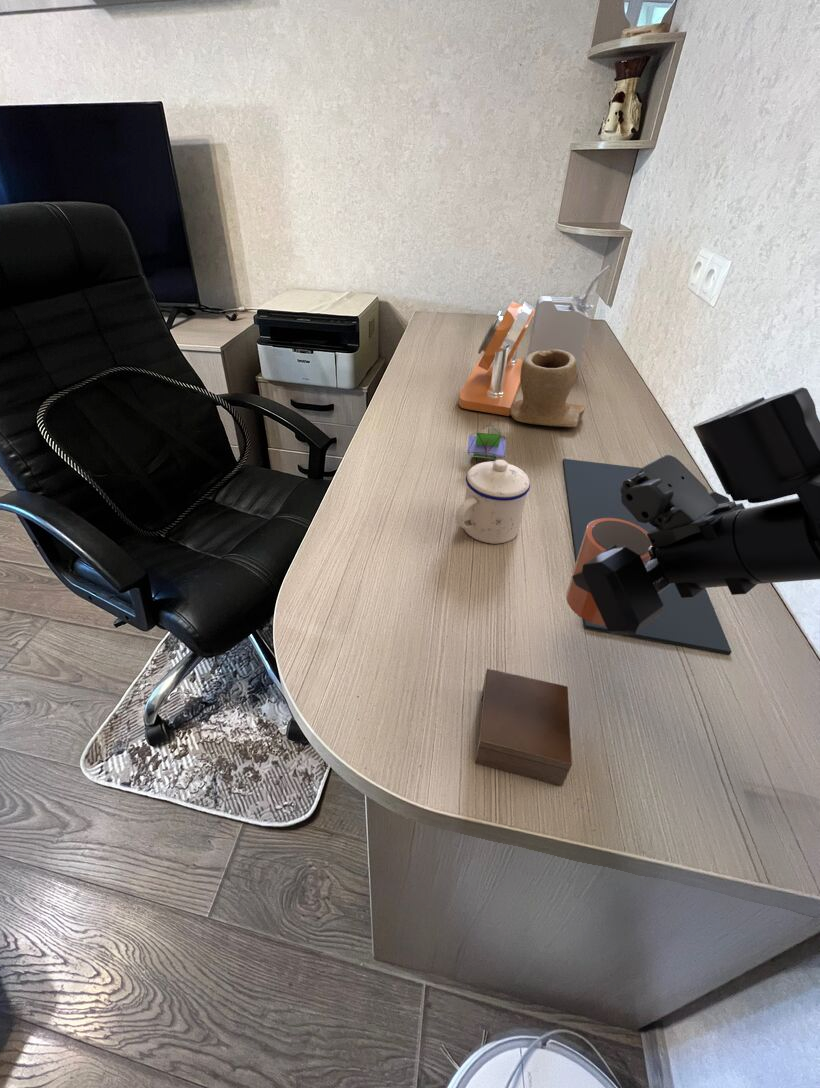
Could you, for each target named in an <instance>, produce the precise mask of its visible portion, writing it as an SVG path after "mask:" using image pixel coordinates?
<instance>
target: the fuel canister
mask: <svg viewBox="0 0 820 1088" xmlns="http://www.w3.org/2000/svg"><path fill="white" fill-rule="evenodd" d="M610 270H612V267H611V266H610V265H607V266H606V267H604V268H603V269H602V270H601V271H600V272H599V273H597V274H596V275H595V276H594V278H593V279H592V280H591V281H590V283H589V286H588V287H587V289H586V290H585V293H582V294H580V295H577V296H576V295H573V296H571V297H565V296H564V297H561V296H549V295H540V296H539V297H538V298H537V300H536V303H535V309H534V310H535V313H534V314H533V318H532V324H531V331H530V335H529V341H528V347H527V351H526V357H527V356H528V355H529V354H531V353H533V352H536V351H548V350H553V349H559V350H563V351H566V352H568V353H570V354H572V355H573V356H574V358H575V359H576V363H577V372H579V370H580V365H581V362H582V358H583V353H584V351H585V345H586V342H587V338H588V333H589V330H590V326H591V321H592V319H591V318H590V316H589V315H588V313H587V310H589V309H592V308H594V307H595V305H593V304H590V303H588V302H589V301H588V300H589V297H590V294H591V292H592V291H593V289H594V286H595V285H596V283H597V282H598V281H600V280H601V279H602V278H603V276H605V275H606V274H607V273H608V272H609V271H610ZM573 301H575V302H576V304H575V305H574V302H573Z"/></svg>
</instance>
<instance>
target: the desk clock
mask: <svg viewBox="0 0 820 1088" xmlns="http://www.w3.org/2000/svg"><path fill="white" fill-rule="evenodd" d="M502 313H503V309H500V310H499V311H498V312H497V314H496V315H495V317H494V319H493V321H492V323H491V324H490V326H489V328H488V331H487V332H486V334H485V336H484V338H483V340H482V342H481V344H480V346H479V348H478V351H477V354H478V355H480V354H481V353H482V352H483V354H482V356H481V357H480V358H479V359H478V361H477V363H476V364H475V366H474V368H473V370H472V371H471V373H470V374H469V376H468V378H467V380H466V382H465V383H464V385H463V387H462V388H461V390H460V391H459V396H458V405H459V407H460V408H462V409H465V410H470V411H477V412H482V413H488V414H495V415H500V416H507V417H509V416H510V415H511V414H510V409H511V406H512V405H513V404H514V403H515V399H516V397H517V394H518V392H519V389H520V387H521V381H520V375H521V366H522V363H523V360H524V359H520V358H517V353H518V348H519V345H520V343H521V342H522V339H523V338H524V336H525V334H526V332H527V330H528V328H529V324H530V323H531V321H532V319H533V317H534V314H535V309H534V305H532V304H530V303H529V302H527V301H524V302H523V304H521V303H517V302H515V301H511V302H510V303H509V306H508V307H507V309H506V311H505V312H504V315H502Z"/></svg>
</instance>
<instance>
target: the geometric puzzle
mask: <svg viewBox="0 0 820 1088" xmlns="http://www.w3.org/2000/svg"><path fill="white" fill-rule="evenodd" d="M486 427H488V429H487V432H485V433H484V432H481V431H482V430H483V429H485V428H486ZM506 450H507V438H506V436H505V435H504V434H503V432H502V431H501V429H500V428H498V427H496V426H494V425H491V424H489V423H488V424H487V425H486V426H485V427H482V429H479V431H476V432H475V431H474V432H472V433H471V434H468V443H467V451H466V453H467V454H468V455H470V456H472V457H473V458H474V459H475V461H477V458H480V457H481V458H484V462H487V458H488V459H489V458H490V459H492V460H491V461H493V462H494V460H497V457H498V459H502V458H506Z"/></svg>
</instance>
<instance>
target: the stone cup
mask: <svg viewBox="0 0 820 1088" xmlns="http://www.w3.org/2000/svg"><path fill="white" fill-rule="evenodd" d="M522 360H523V363H522V366H521V375H520V381H521V384H520V387H521V392H522V399H519V400H516V401H514V403H513V405H512V406H511V409H510V414H509V415H510V416H511V417H512V419H513V420H514V421H516V422H520V423H523V424H529V425H530V424H531V425H536V426H549V427H562V428H576V427H577V426H578V425H579V422H580V421H581V420H582V418H583V416H584V413H585V410H586V404H577V403H571V402H570V403H569V402H567V399H568V397H569V395H570V392H571V390H572V388H573V385H574V383H575V381H576V379H577V373H578V371H577V363H576V359H575V358H574V356H573V355H572V354H570V353H568V352H566V351H563V350H559V349H553V350H548V351H536V352H533V353H531V354H529V355H528V356H527V355H526V356H525V358H524V359H522Z"/></svg>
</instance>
